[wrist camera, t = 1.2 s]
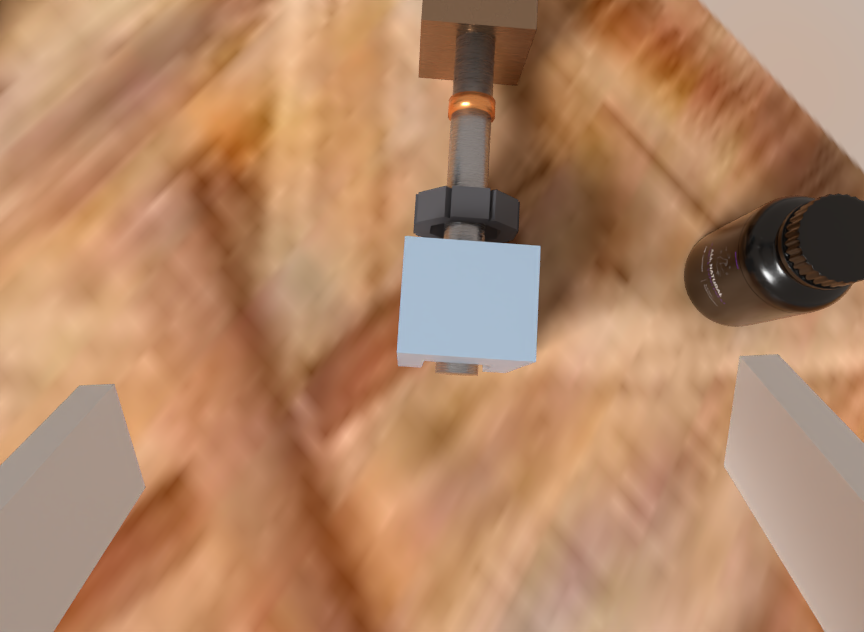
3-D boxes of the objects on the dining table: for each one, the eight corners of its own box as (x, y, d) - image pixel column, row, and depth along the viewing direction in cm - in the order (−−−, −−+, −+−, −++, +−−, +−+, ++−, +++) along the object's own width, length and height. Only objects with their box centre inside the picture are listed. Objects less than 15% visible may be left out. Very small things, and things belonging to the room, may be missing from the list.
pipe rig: (502, 381, 44) (521, 375, 37) (397, 374, 44) (396, 367, 37) (519, 33, 48) (539, -31, 41) (422, 24, 48) (425, -41, 41)
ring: (507, 248, 44) (524, 221, 37) (412, 241, 43) (414, 213, 37) (508, 221, 44) (525, 191, 38) (414, 214, 44) (416, 182, 37)
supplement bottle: (660, 277, 46) (750, 230, 34) (726, 212, 47) (837, 145, 35) (731, 350, 45) (848, 328, 33) (797, 283, 46) (934, 239, 34)
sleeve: (505, 372, 43) (536, 361, 33) (398, 365, 43) (396, 352, 33) (509, 282, 44) (540, 245, 34) (404, 275, 44) (405, 235, 34)
